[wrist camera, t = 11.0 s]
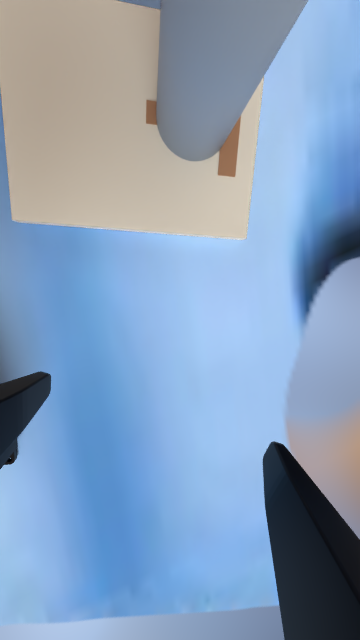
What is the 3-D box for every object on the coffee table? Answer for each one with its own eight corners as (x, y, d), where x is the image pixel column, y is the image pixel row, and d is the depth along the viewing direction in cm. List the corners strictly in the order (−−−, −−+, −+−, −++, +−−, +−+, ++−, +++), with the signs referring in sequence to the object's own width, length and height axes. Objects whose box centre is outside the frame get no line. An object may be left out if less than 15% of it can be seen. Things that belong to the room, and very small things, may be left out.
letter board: (19, 222, 18) (11, 219, 17) (0, -7, 15) (-11, -29, 14) (241, 240, 20) (246, 238, 19) (262, 45, 17) (269, 31, 16)
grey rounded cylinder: (169, 169, 17) (220, -92, 5) (145, 84, 16) (132, -580, 4) (237, 150, 18) (452, -142, 5) (219, 65, 16) (450, -607, 4)
